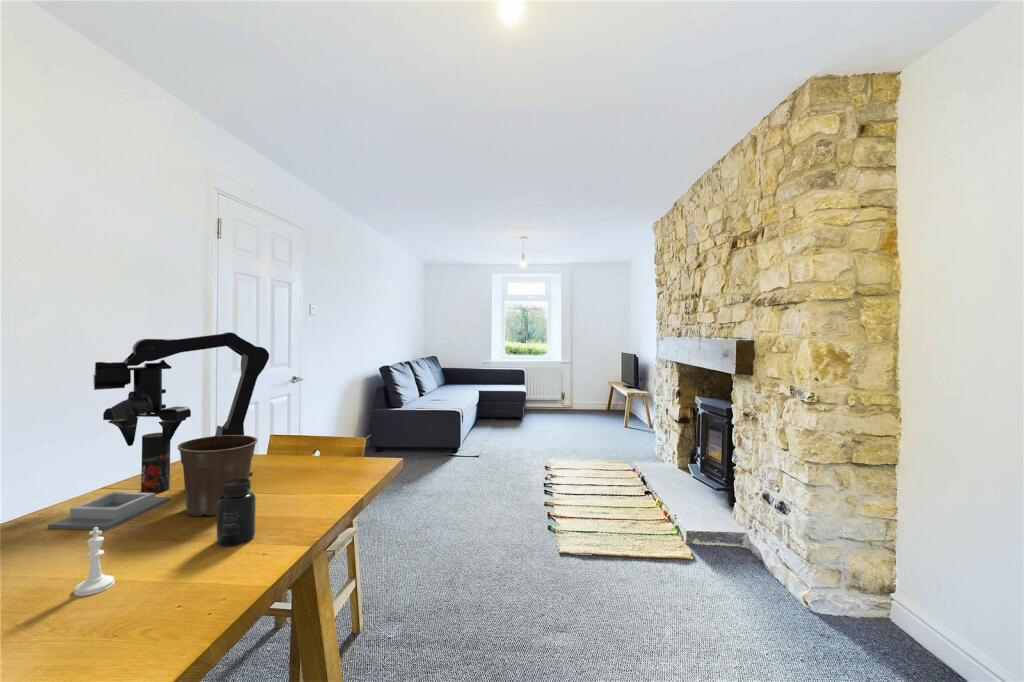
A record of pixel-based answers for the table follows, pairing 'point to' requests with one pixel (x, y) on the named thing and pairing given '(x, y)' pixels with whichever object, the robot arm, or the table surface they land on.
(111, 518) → the socket board
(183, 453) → the plant pot
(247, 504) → the supplement bottle
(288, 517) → the table surface
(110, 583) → the chess piece
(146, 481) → the deodorant
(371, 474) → the table surface
